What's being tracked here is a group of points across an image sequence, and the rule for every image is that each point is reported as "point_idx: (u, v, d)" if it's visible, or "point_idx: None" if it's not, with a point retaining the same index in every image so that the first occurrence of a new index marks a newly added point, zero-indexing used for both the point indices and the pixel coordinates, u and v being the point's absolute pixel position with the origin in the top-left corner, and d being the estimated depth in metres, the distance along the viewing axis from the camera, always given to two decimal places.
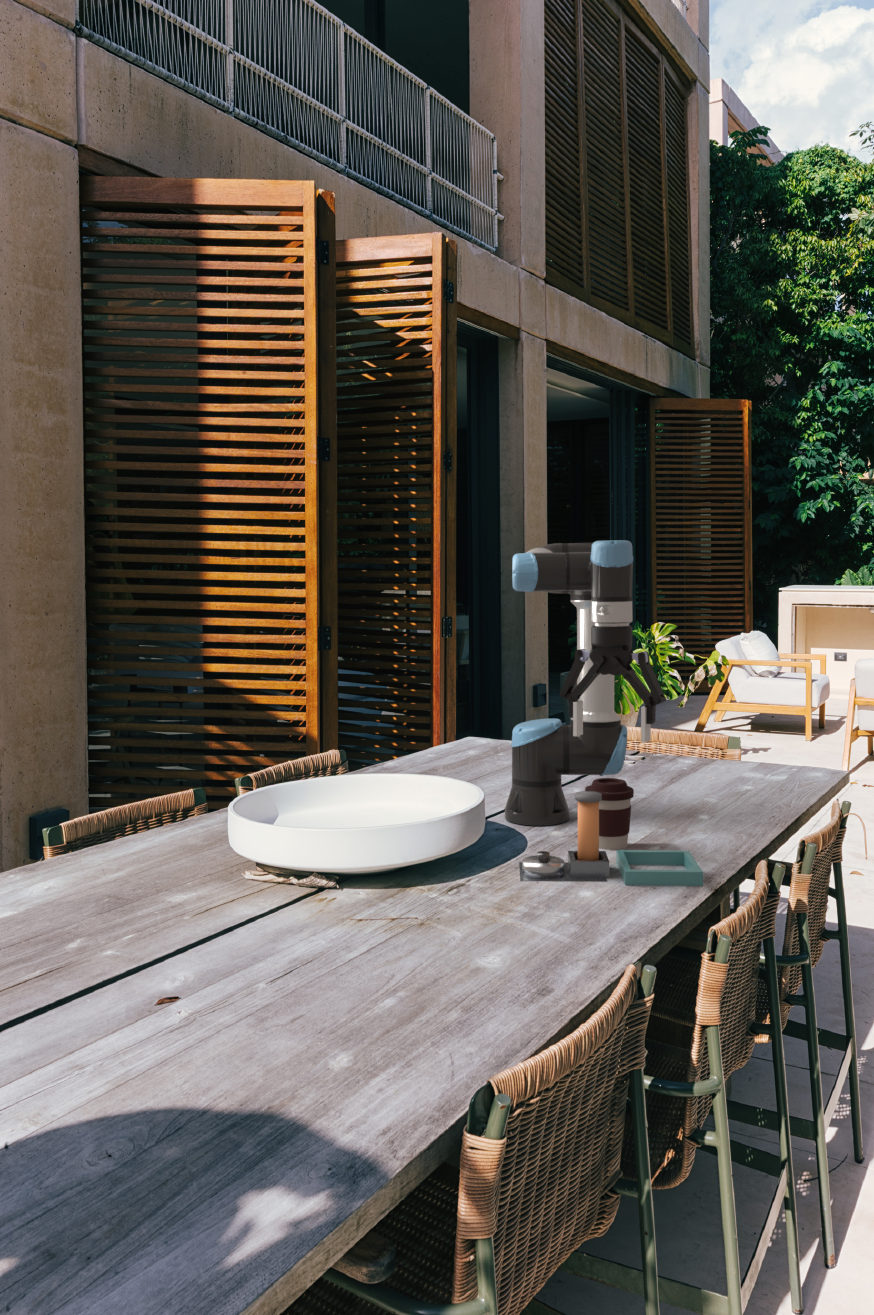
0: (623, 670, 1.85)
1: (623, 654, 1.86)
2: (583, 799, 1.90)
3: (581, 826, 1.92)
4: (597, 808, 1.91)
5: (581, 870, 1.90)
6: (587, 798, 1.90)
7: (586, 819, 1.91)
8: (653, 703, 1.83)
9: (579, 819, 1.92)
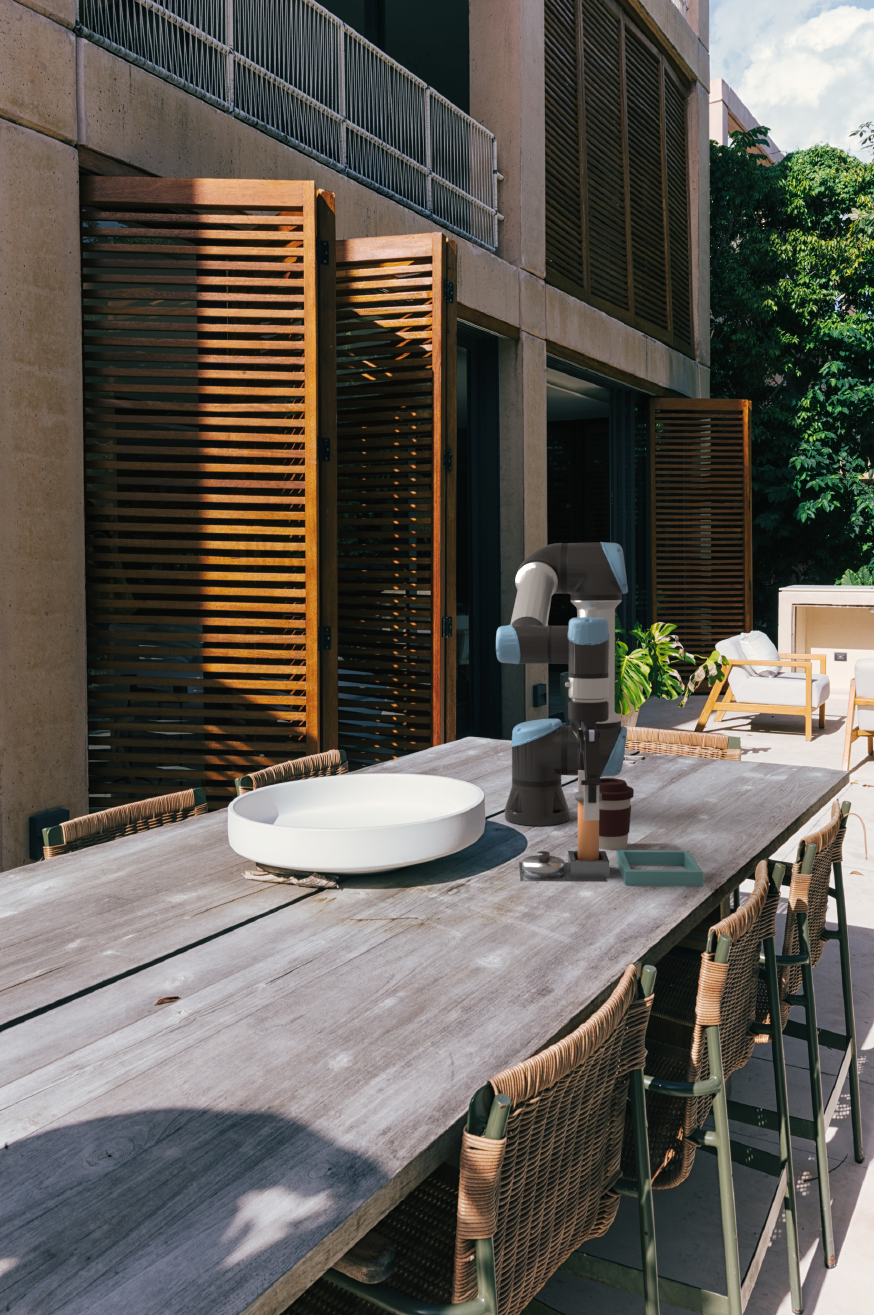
0: (580, 745, 1.88)
1: (583, 730, 1.88)
2: (583, 799, 1.90)
3: (581, 826, 1.92)
4: None
5: (581, 870, 1.90)
6: None
7: None
8: None
9: (579, 819, 1.92)
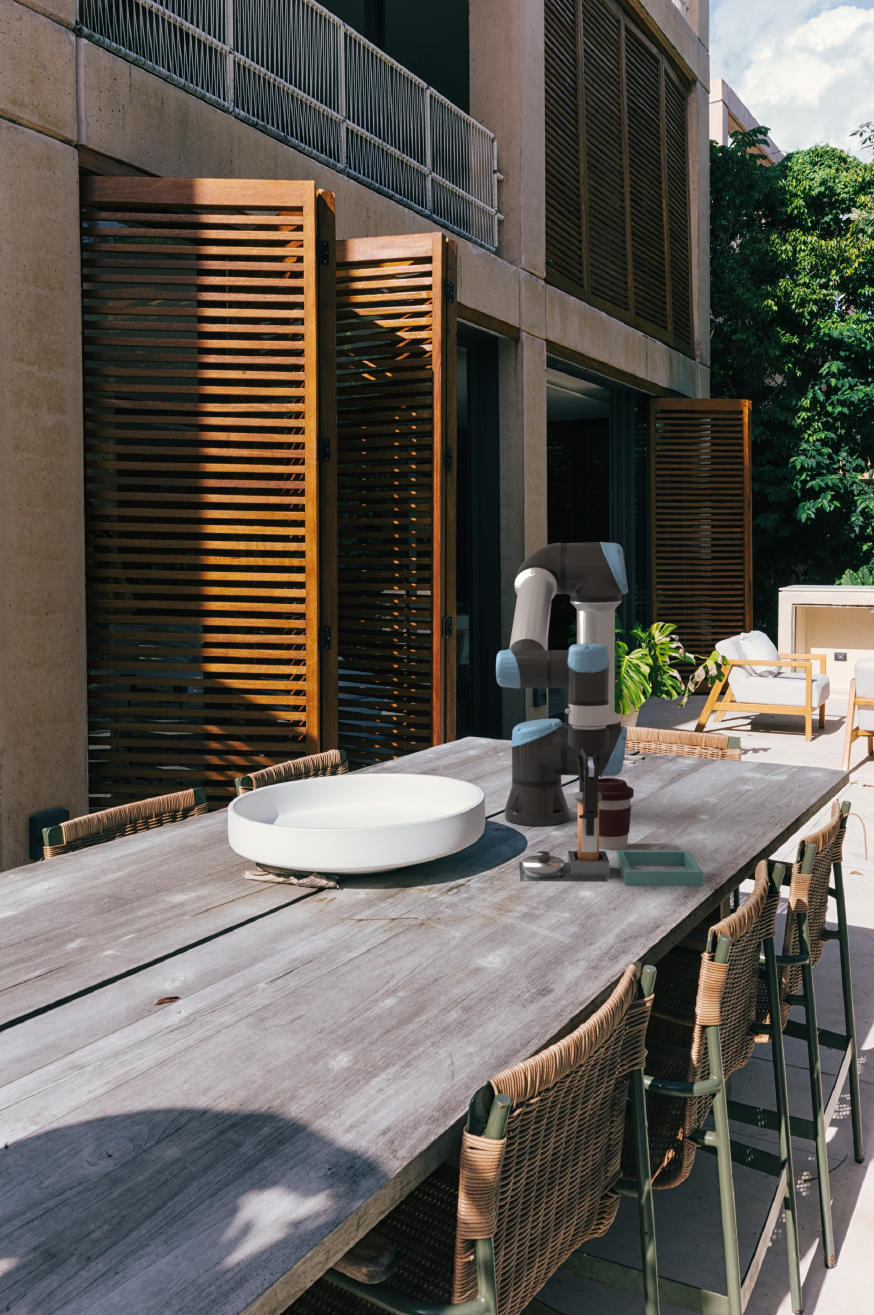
0: (580, 774, 1.90)
1: (583, 757, 1.89)
2: None
3: (581, 826, 1.92)
4: None
5: (581, 870, 1.90)
6: None
7: None
8: None
9: (579, 819, 1.92)
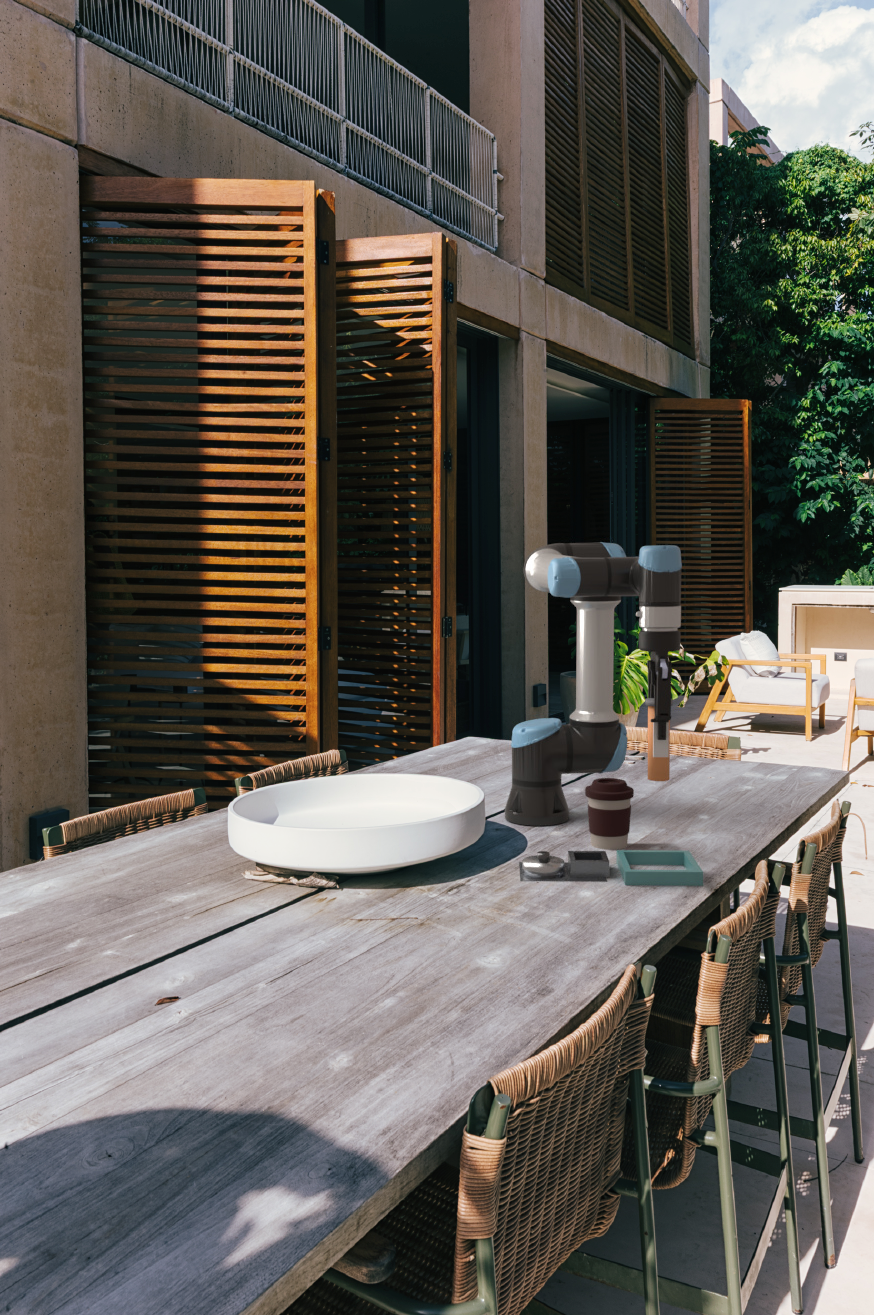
0: (651, 678, 1.87)
1: (655, 659, 1.85)
2: None
3: (651, 732, 1.88)
4: None
5: (581, 870, 1.90)
6: None
7: None
8: (658, 719, 1.85)
9: (650, 725, 1.88)
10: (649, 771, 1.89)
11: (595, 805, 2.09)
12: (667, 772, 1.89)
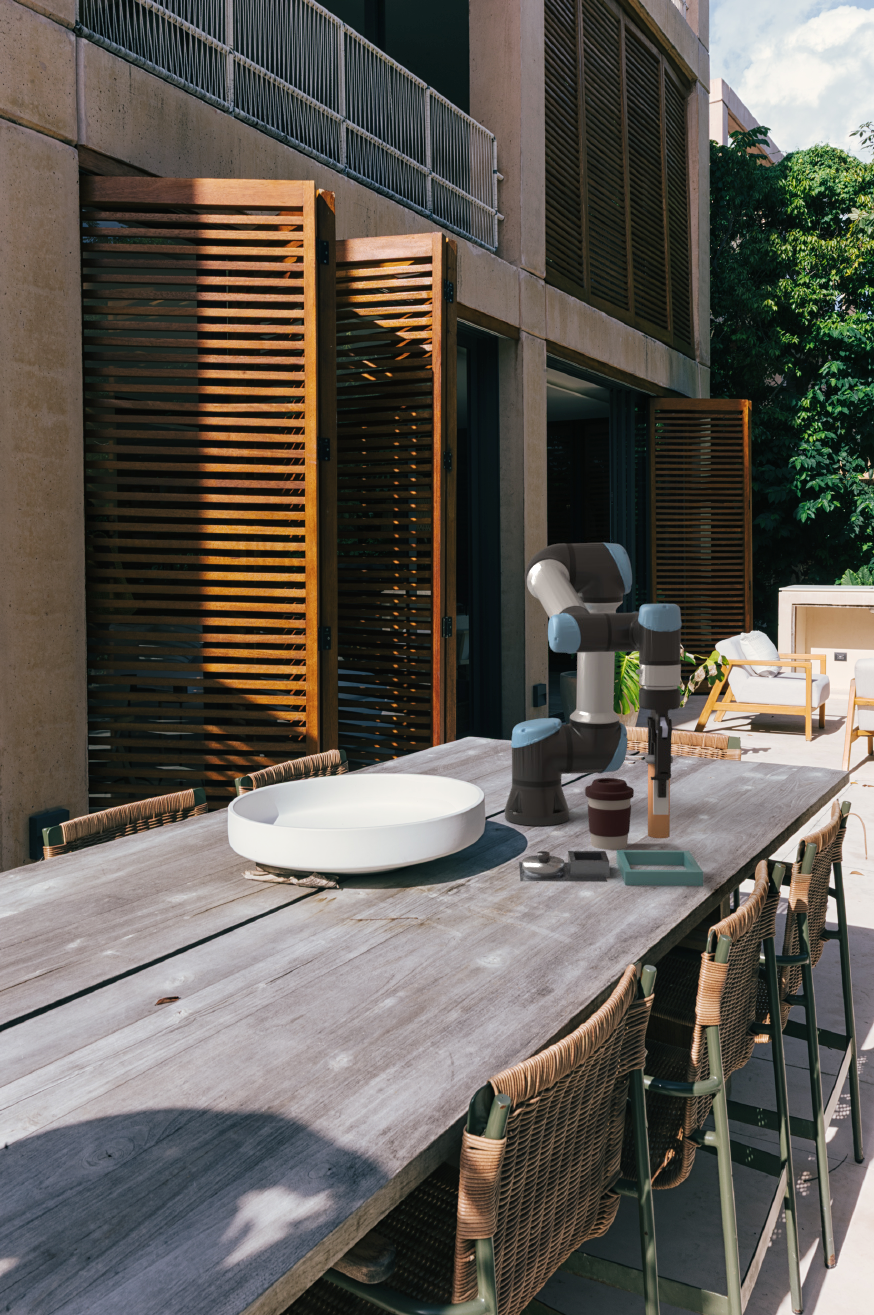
0: (651, 736, 1.87)
1: (655, 717, 1.86)
2: None
3: (652, 789, 1.89)
4: None
5: (581, 870, 1.90)
6: None
7: None
8: None
9: (650, 782, 1.89)
10: (649, 828, 1.90)
11: (595, 806, 2.09)
12: (667, 829, 1.89)
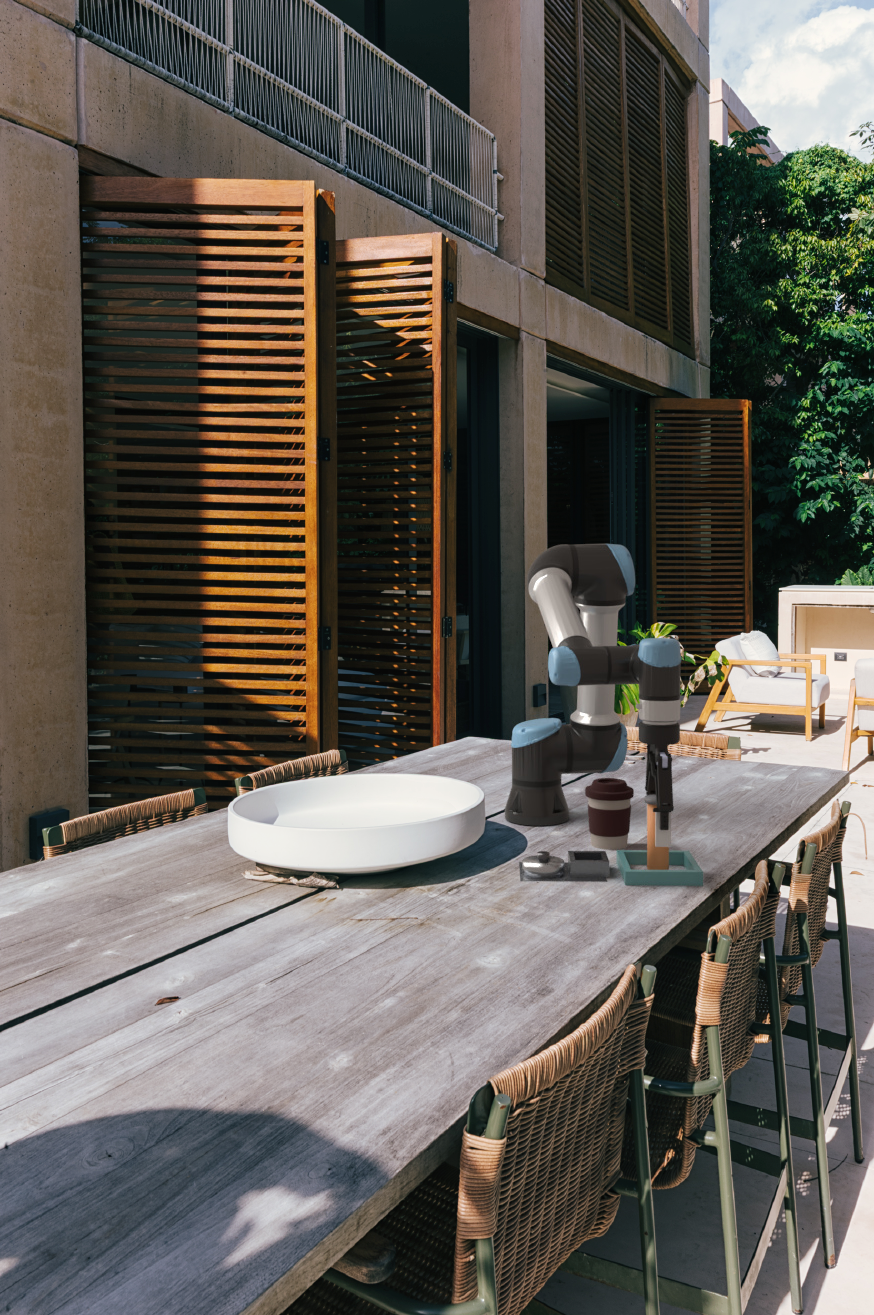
0: (651, 769, 1.87)
1: (655, 752, 1.87)
2: (654, 802, 1.89)
3: (651, 830, 1.90)
4: None
5: (581, 870, 1.90)
6: None
7: None
8: None
9: (649, 822, 1.90)
10: (649, 868, 1.91)
11: (595, 806, 2.09)
12: (666, 869, 1.90)
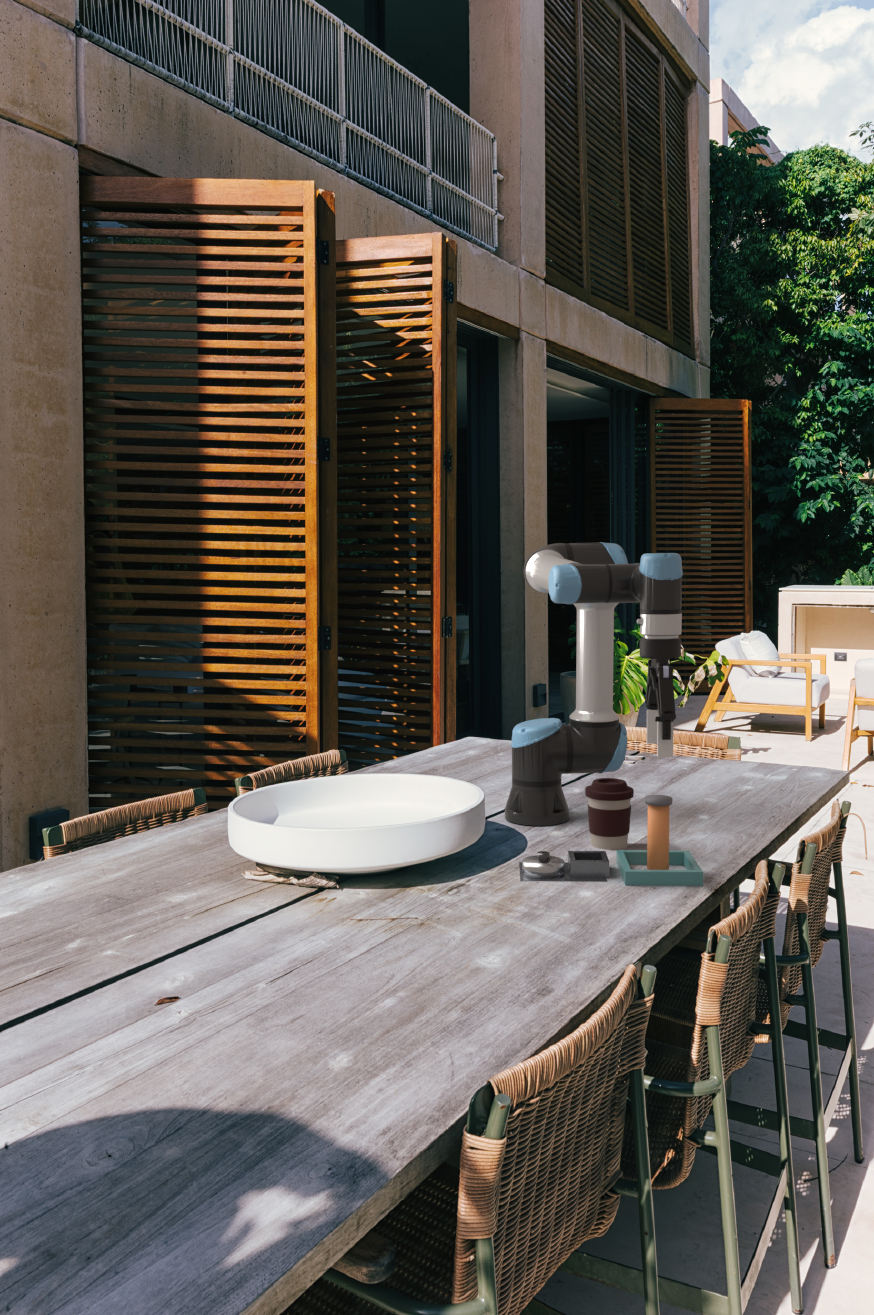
0: (653, 682, 1.86)
1: (656, 667, 1.86)
2: (654, 803, 1.89)
3: (651, 830, 1.90)
4: (668, 812, 1.90)
5: (581, 870, 1.90)
6: (658, 802, 1.88)
7: (656, 823, 1.89)
8: None
9: (649, 823, 1.90)
10: (649, 868, 1.91)
11: (595, 805, 2.09)
12: None
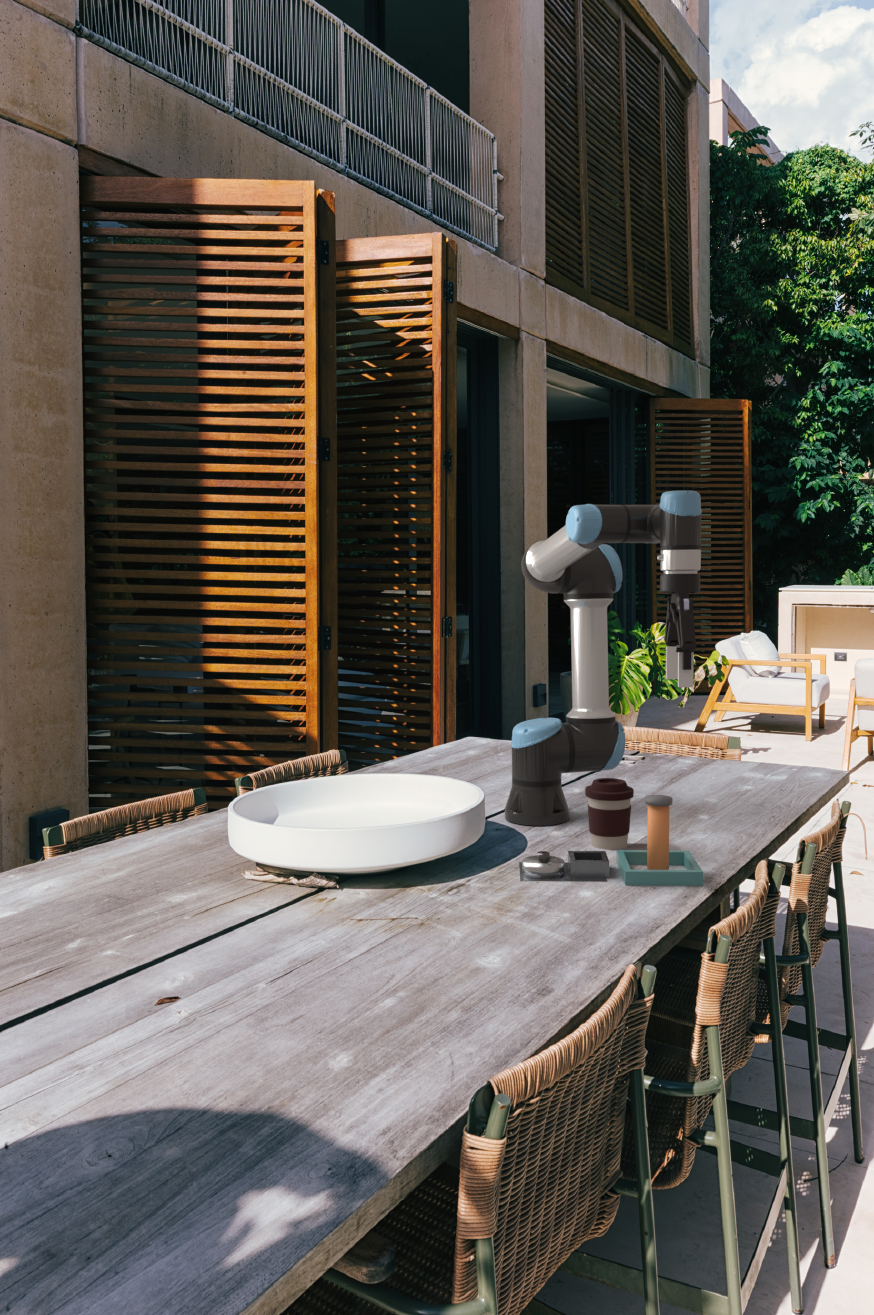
0: (673, 616, 1.92)
1: (676, 601, 1.92)
2: (654, 803, 1.89)
3: (651, 831, 1.90)
4: (668, 812, 1.90)
5: (581, 870, 1.90)
6: (658, 802, 1.88)
7: (656, 823, 1.89)
8: None
9: (649, 823, 1.90)
10: (649, 868, 1.91)
11: (595, 805, 2.09)
12: None
